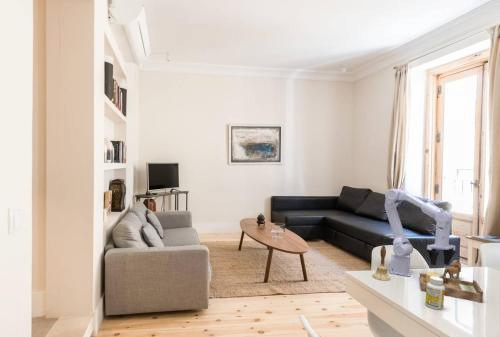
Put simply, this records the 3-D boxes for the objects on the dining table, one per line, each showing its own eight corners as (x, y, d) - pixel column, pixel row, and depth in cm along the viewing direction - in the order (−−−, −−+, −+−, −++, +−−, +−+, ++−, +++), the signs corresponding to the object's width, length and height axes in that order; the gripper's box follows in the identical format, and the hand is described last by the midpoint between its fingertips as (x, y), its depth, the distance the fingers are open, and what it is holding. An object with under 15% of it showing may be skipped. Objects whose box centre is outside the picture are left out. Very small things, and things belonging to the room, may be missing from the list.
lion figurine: (451, 275, 173) (452, 258, 173) (462, 278, 169) (463, 261, 169) (439, 280, 164) (441, 262, 164) (451, 284, 160) (453, 265, 159)
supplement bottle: (431, 309, 128) (433, 280, 128) (421, 302, 135) (423, 275, 134) (447, 309, 129) (449, 281, 129) (436, 302, 135) (438, 275, 135)
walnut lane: (420, 290, 148) (421, 280, 148) (419, 279, 163) (419, 270, 162) (482, 302, 138) (483, 292, 138) (474, 290, 153) (475, 280, 153)
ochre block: (426, 283, 152) (427, 275, 152) (426, 280, 156) (426, 272, 156) (439, 286, 150) (439, 277, 150) (438, 282, 154) (438, 274, 154)
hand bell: (393, 281, 158) (395, 248, 158) (375, 280, 158) (378, 247, 158) (386, 275, 166) (388, 244, 166) (370, 274, 167) (372, 243, 166)
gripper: (436, 238, 151) (433, 267, 152) (461, 238, 155) (459, 267, 155) (424, 234, 158) (422, 262, 159) (449, 235, 162) (447, 262, 162)
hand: (439, 264), depth 157 cm, fingers open, 7 cm apart
